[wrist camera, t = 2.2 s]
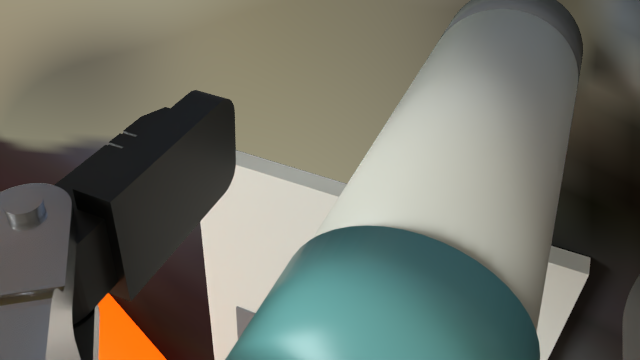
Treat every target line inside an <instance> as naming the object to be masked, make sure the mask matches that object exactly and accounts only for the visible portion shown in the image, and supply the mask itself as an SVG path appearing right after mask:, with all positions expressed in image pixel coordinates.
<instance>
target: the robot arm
mask: <svg viewBox="0 0 640 360" xmlns="http://www.w3.org/2000/svg"><path fill="white" fill-rule="evenodd" d="M235 168H236V147H235V112H234V105H233V103H232V101H231V100H229V99H225V98H222V97H219V96H215V95H211V94H208V93H204V92H201V91H197V90H194V91H191V92H190V93H189V94H187V95H186V96H185V97H184V98H183V99H181V100H180V101H179V102H178V103H176V104H175V105H174V106H173V107H172V108H167V107H164V108H162V109H160V110H157V111H154V112H152V113H150V114H147V115H144V116H142V117H140V118H139V119H138V120H136V121H135V122H134V123H133V124H131V125H130V126H129V127H127V128H126V129H125V130H124V132H123V134H119V135H117V136H116V137H115V138H114V139H112V140H111V141H110V142H109V145H108V146H107V145H105V146H103V147H102V148H101V149H100V150H98V151H97V152H96V153H94V154H93V155H92V156H91V157H89V158H88V159H87V160H86V161H84V162H83V163H82V164H81V165H79V166H78V167H77V168H75V169H74V170H73V171H72V172H70V173H69V174H68V175H67V176H65V177H64V178H63V179H61V180H60V181H59V182H58V183H56V184H55V185H50V184H43V183H33V184H25V185H20V186H16V187H13V188H10V189H7V190H5V191H3V192H0V360H99V326H100V312H99V306H98V303H99V302H100V301H101V300H102V299H103V298H104V297H105V296H106V295H107V294H108V293H110V294H112V295H115V296H117V297H120V298H122V299H125V300H127V301H130V302H131V301H132V300H133V298H134V297H135V296H136V295H137V294H138V293H139V291H140V290H141V289H142V288H143V287H144V286H145V285H146V283H147V282H148V281H149V280H150V279H151V278H152V277H153V275H154V274H155V273H156V272H157V271H158V270H159V268H160V267H161V266H162V265H163V264H164V263H165V262H166V260H167V259H168V258H169V257H170V256H171V255H172V253H173V252H174V251H175V250H176V249H177V248H178V247H179V245H180V244H181V243H182V242H183V241H184V240H185V239H186V237H187V236H188V235H189V234H190V233H191V232H192V230H193V229H194V228H195V227H196V226H197V225H198V224H199V222H200V221H201V220H202V219H203V218H204V217H205V216H206V214H207V213H208V212H209V211H210V210H211V209H212V207H213V206H214V205H215V204H216V203H217V202H218V201H219V199H220V198H221V197H222V196H223V195H224V194H225V192H226V191H227V190H228V188H229V186H230V184H231V182H232V180H233V177H234V173H235ZM623 360H640V275H639V276H638V278H637V280H636V281H635V283H634V285H633V287H632V289H631V291H630V293H629V296H628V298H627V301H626V305H625V309H624V314H623Z"/></svg>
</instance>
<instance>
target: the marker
mask: <svg viewBox="0 0 640 360" xmlns="http://www.w3.org/2000/svg"><path fill="white" fill-rule="evenodd" d="M582 55H583V43H582V38H581V34H580V31H579V28H578V26H577V24H576V22H575V20H574V18H573V17H572V15H571V14H570V13H569V11H568V10H567V9H566V8H565V7H564V6H563V5H562V4H560V3H559V2H558V1H556V0H471V1H469V2H468V3H467V4H466V5H465V6H464V7H462V8H461V9H460V11H459V12H458V13H457V14H456V15H455V17H454V18H453V20H452V21H451V23H450V24H449V26H448V27H447V29H446V31H445V32H444V34H443V35H442V37H441V38H440V40H439V42H438V43H437V45H436V46H435V48H434V49H433V51H432V52H431V54H430V56H429V57H428V59H427V61H426V62H425V63H424V65H423V67H422V68H421V70H420V71H419V73H418V74H417V76H416V77H415V79H414V81H413V82H412V84H411V85H410V87H409V88H408V90H407V92H406V93H405V95H404V96H403V98H402V100H401V101H400V103H399V104H398V106H397V107H396V109H395V110H394V112H393V114H392V115H391V116H390V118H389V120H388V122H387V123H386V124H385V126H384V128H383V129H382V131H381V132H380V134H379V135H378V137H377V139H376V140H375V142H374V143H373V145H372V146H371V148H370V149H369V151H368V152H367V154H366V156H365V157H364V159H363V160H362V162H361V163H360V165H359V167H358V168H357V170H356V171H355V173H354V174H353V176H352V178H351V179H350V181H349V182H348V184H347V185H346V187H345V188H344V190H343V191H342V193H341V195H340V196H339V198H338V199H337V201H336V202H335V204H334V205H333V207H332V209H331V210H330V212H329V213H328V215H327V216H326V218H325V220H324V221H323V223H322V224H321V226H320V227H319V229H318V230H317V232H316V234H315V235H314V237H313V238H312V239H311V240H309V241H308V242H307V243H305V244H304V245H303V246H302V247H300V248H299V250H298V251H297V252H296V253H295V254H294V255H293V257H292V258H291V260H290V261H289V263H288V264H287V266H286V267H285V269H284V270H283V272H282V274H281V275H280V277H279V278H278V280H277V281H276V283H275V284H274V286H273V287H272V289H271V290H270V292H269V293H268V295H267V296H266V298H265V299H264V301H263V303H262V304H261V306H260V307H259V309H258V310H257V312H256V313H255V315H254V316H253V318H252V319H251V321H250V322H249V324H248V325H247V327H246V328H245V330H244V331H243V333H242V335H241V336H240V338H239V339H238V341H237V342H236V344H235V345H234V347H233V348H232V350H231V351H230V353H229V354H228V356H227V357H226V359H225V360H540V346H539V340H538V336H537V327H538V321H539V315H540V309H541V303H542V297H543V291H544V285H545V279H546V273H547V267H548V261H549V255H550V249H551V243H552V237H553V231H554V225H555V219H556V213H557V207H558V201H559V195H560V189H561V183H562V177H563V171H564V165H565V159H566V153H567V147H568V141H569V135H570V129H571V123H572V117H573V111H574V105H575V99H576V93H577V87H578V81H579V75H580V69H581V63H582Z"/></svg>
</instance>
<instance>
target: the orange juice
mask: <svg viewBox="0 0 640 360" xmlns="http://www.w3.org/2000/svg"><path fill="white" fill-rule="evenodd" d="M98 306H99V312H100V326H99V360H166V359H165V357H164V356H163V355H162V354H161V353H160V352H159V351H158V349H157V348H156V347H155V346H154V345H153V344H152V342H151V341H150V340H149V339H148V338H147V337H146V336H145V334H144V333H143V332H142V331H141V330H140V329H139V328H138V326H137V325H136V324H135V323H134V322H133V321H132V320H131V318H130V317H129V316H128V315H127V314H126V313H125V311H124V310H123V309H122V308H121V307H120V306H119V305H118V303H117V302H116V301H115V300H114V299H113V298H112V297H111V295H110V294H109V293H108V294H107V295H106V296H105V297H104V298H103V299H102V300H101V301H100V302H99V303H98Z"/></svg>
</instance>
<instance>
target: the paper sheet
mask: <svg viewBox="0 0 640 360" xmlns="http://www.w3.org/2000/svg"><path fill="white" fill-rule="evenodd" d="M346 185H347V184H346V183H343V182H340V181H336V180H333V179H330V178H326V177H323V176H320V175H316V174H313V173H310V172H307V171H303V170H299V169H297V168H293V167H290V166H286V165H284V164H280V163H277V162H273V161H270V160H267V159H264V158H261V157H257V156H254V155H250V154H247V153H244V152H241V151H237V150H236V168H235V173H234V177H233V180H232V182H231V184H230V186H229V188H228V190H227V191H226V192H225V194H224V195H223V196H222V197H221V198H220V199H219V201H218V202H217V203H216V204H215V205H214V206H213V207H212V209H211V210H210V211H209V212H208V213H207V214H206V216H205V217H204V218H203V219H202V220H201V221H200V222H201V232H202V242H203V251H204V261H205V271H206V281H207V290H208V300H209V310H210V319H211V329H212V339H213V348H214V358H215V360H225V359H226V357H227V356H228V354H229V353H230V351H231V350H232V348H233V347H234V345H235V344H236V342H237V341H238V339H239V338H240V336H241V335H242V333H243V331H244V330H245V328H246V327H247V325H248V324H249V322H250V321H251V319H252V318H253V316H254V315H255V313H256V312H257V310H258V309H259V307H260V306H261V304H262V303H263V301H264V299H265V298H266V296H267V295H268V293H269V292H270V290H271V289H272V287H273V286H274V284H275V283H276V281H277V280H278V278H279V277H280V275H281V274H282V272H283V270H284V269H285V267H286V266H287V264H288V263H289V261H290V260H291V258H292V257H293V255H294V254H295V253H296V252H297V251H298V250H299V248H300V247H302V246H303V245H304V244H305V243H307V242H308V241H309V240H311V239H312V238H313V237H314V235H315V234H316V232H317V230H318V229H319V227H320V226H321V224H322V223H323V221H324V220H325V218H326V216H327V215H328V213H329V212H330V210H331V209H332V207H333V205H334V204H335V202H336V201H337V199H338V198H339V196H340V195H341V193H342V191H343V190H344V188H345V187H346ZM590 259H591V258H590V257H587V256H584V255H580V254H577V253H574V252H570V251H567V250H564V249H560V248H557V247H554V246H551V249H550V255H549V261H548V267H547V273H546V279H545V285H544V291H543V297H542V303H541V309H540V315H539V321H538V327H537V336H538V340H539V346H540V360H548V358H549V356H550V354H551V352H552V350H553V348H554V346H555V344H556V342H557V340H558V337H559V335H560V333H561V331H562V329H563V327H564V325H565V323H566V321H567V319H568V317H569V315H570V313H571V311H572V309H573V307H574V305H575V303H576V301H577V299H578V297H579V295H580V292H581V290H582V288H583V286H584V284H585V282H586V280H587V278H588V276H589V270H590Z"/></svg>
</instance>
